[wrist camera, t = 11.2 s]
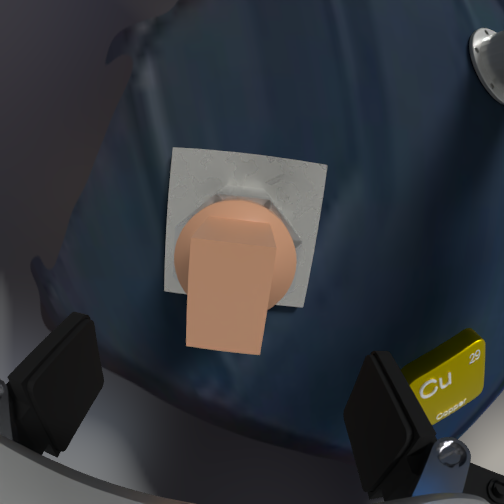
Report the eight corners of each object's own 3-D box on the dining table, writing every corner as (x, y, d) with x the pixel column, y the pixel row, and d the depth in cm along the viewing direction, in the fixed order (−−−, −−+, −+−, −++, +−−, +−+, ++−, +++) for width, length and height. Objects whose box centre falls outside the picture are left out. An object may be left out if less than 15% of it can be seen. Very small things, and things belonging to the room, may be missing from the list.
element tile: (406, 419, 43) (415, 437, 38) (394, 368, 39) (406, 388, 35) (472, 379, 41) (484, 394, 37) (471, 322, 37) (487, 336, 33)
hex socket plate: (324, 165, 31) (359, 165, 20) (301, 301, 36) (319, 358, 24) (176, 148, 31) (137, 140, 20) (167, 286, 35) (134, 336, 24)
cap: (296, 201, 24) (326, 228, 14) (280, 298, 26) (295, 374, 16) (191, 189, 24) (147, 207, 14) (184, 286, 26) (148, 356, 16)
